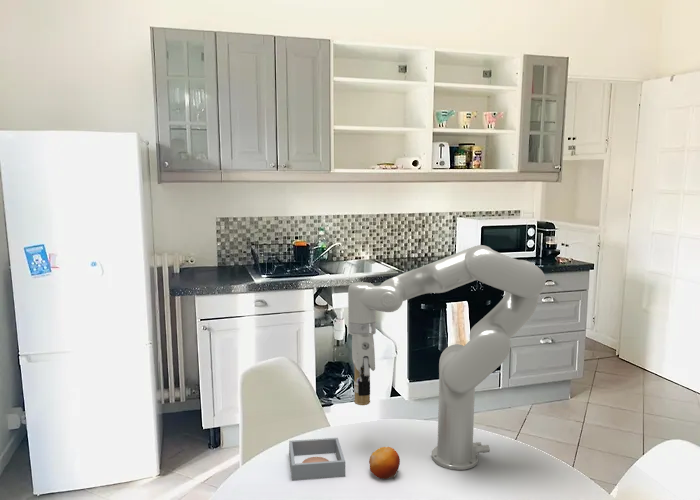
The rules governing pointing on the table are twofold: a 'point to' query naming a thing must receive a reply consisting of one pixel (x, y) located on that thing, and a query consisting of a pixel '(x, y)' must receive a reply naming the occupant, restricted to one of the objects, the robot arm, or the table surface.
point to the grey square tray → (316, 459)
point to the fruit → (384, 463)
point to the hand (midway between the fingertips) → (362, 391)
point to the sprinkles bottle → (358, 399)
